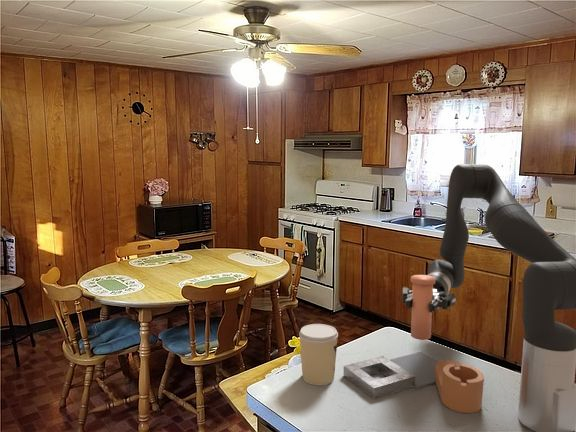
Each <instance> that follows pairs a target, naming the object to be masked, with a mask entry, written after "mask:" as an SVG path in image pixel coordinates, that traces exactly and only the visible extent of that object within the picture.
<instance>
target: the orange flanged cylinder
mask: <svg viewBox="0 0 576 432" xmlns="http://www.w3.org/2000/svg"><path fill="white" fill-rule="evenodd" d="M410 283H411V284H412V290H413V291H412V307H411V322H410V323H411V324H410V336H411V338H413V339H415V340H419V341H427V340H429V339H431V337H432V321H433V320H432V319H433V318H432V317H433V316H432V315H433V312H432V313H431V312H429V305H430V303H431V301H432V298H433V285H434V284H435V278H434V277H432V276H428V274H414V275H411V276H410Z"/></svg>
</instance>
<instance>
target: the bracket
mask: <svg viewBox="0 0 576 432" xmlns="http://www.w3.org/2000/svg"><path fill="white" fill-rule="evenodd" d="M438 361H439V362H437V363H436V364H435V380H436V383H435V384H436V387H437V390H438V393H439V397H440V401H441V402H442V404H443V405H444V406H445V407H446V408H449V409H450V410H451V411H454V412H458V413H464V414H474V413H477V412H479V411H480V410H481V409H482V405H483V395H484V394H483V393H484V384H485V383H484V382H485V375H484V373H483V372H482V371H481V370H480V369H479V368H477V367H476V366H472V365H469V364H466V363H463V362H460V361H457V360H451V359H446V360H444V359H443V360H438Z"/></svg>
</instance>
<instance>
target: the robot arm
mask: <svg viewBox="0 0 576 432" xmlns="http://www.w3.org/2000/svg"><path fill="white" fill-rule="evenodd" d="M464 199H481V200H482V199H483V200H485V201H486V202H487V203H488V207H487V209H486V212H485V221H484V222H485V225H486V227H487V229H488V231H489V232H490V234H491V235H492V236H493V238H494V239H495V240H496V242H497V243H498V244H499V245H500V246H501V247H503V248H504V249H505V250H507V251H508V252H510V253H512V254H514V255H516V256H517V257H519V258H522V259H523V260H526V261H527V262H530V264H529V265H527V267H526V269H525V271H524V273H523V277H522V278H523V279H522V306H521V307H522V313H521V318H522V326H523V345H522V357H521V368H520V369H521V374H520V383H519V396H518V397H519V399H518V400H519V401H518V414H517V418H518V420H519V422H520V423H521V424H522V425H523V426H524V427H526V428H528V429H529V430H531V431H533V432H575V431H576V383H575V377H576V376H575V375H576V330H575V329H574V328H572V327H571V326H570V325H567V324H565V323H563V322H559V321H556V320H555V310H556V311H559V310H560V311H563V310H565V311H567V310H576V258H575V257H574V256H573V255H571V254H570V252H568V251H567V250H566V249H565V248H563V247H562V245H560V244H558V242H556V240H554V239H553V238H552V237H551V236H550V234H549V233H548V232H547V231H546V230H545V229H544V228H543V227H541V225H540V224H539V223H538V222H537V220H535V218H534V217H533V216H532V215H531V214H530V212H529V211H527V209H526V208H525V207H524V206H523V205H522V204H521V203H520V202H519V201H518V200H517V199H516V197H515V196H514V195H513V194H512V193H511V192H510V189H508V188H507V186H506V185H505V184H504V182H503V180H502V179H501V177H500V176H499V174H498V173H497V172H496V170H495V168H493V167H492V166H491V165H487V164H483V163H479V164H477V163H460V164H457V165H455V166H454V167H453V169H452V170H451V173H450V176H449V181H448V189H447V201H446V212H445V213H446V214H445V225H444V231H443V234H442V238H441V241H440V242H441V243H440V247H439V256H440V257H441V258H442V259H443V260H442V259H435V260H433V261H432V262H431V263H430V264H429V267H428V271H427V272H428V273H427V275H428V276H432V277H434V278H435V284H434V285H433V298H432V301H431V303H430V305H429V312H431V313H432V314H433V313H434V312H436V311H437V310H439V309H440V308H441V309H442V310H448V309H450V308H451V307H453V306H454V305H456V301H457V300H456V299H457V294H455V293H451V294H450V291H451V289H457V288H460V287H461V286H462V285H463V283H464V281H465V261H464V260H465V254H466V250H467V246H468V243H469V239H470V232H469V229H468V225H467V223H466V221H465V218H464V216H463V213H462V202H463V200H464ZM412 291H413V289H412V290H410V288H408V287H407V286H403V287H402V299H401V301H402V303H403V304H405V305H404V306H405V307H406V309H409V310H410V309H412Z"/></svg>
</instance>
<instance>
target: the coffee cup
mask: <svg viewBox="0 0 576 432" xmlns="http://www.w3.org/2000/svg"><path fill="white" fill-rule="evenodd" d="M298 335H299V344H300V346H299V348H300V358H301V359H300V362H301V374H302V379H303V380H304V381H305V382H306V383H307V384H309V385H313V386H325V385H328V384H331V383H332V382H333V381H334V380H335V373H336V372H335V371H336V362H337V361H336V359H337V347H338V338H339V332H338V331H337V329H336V328H335V327H334V326H333V325H329V324H324V323H312V324H311V323H310V324H306V325H303V326H302V327H301V328H300V331H299V333H298Z"/></svg>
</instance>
